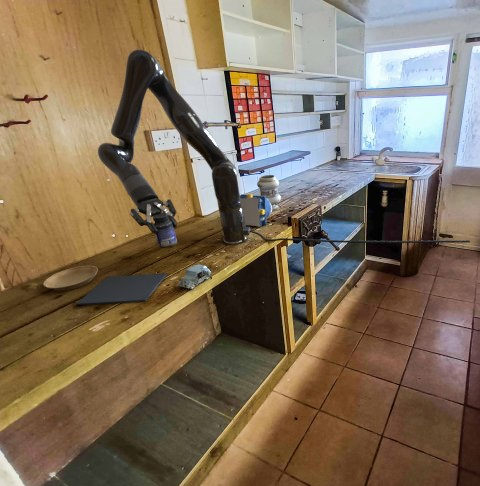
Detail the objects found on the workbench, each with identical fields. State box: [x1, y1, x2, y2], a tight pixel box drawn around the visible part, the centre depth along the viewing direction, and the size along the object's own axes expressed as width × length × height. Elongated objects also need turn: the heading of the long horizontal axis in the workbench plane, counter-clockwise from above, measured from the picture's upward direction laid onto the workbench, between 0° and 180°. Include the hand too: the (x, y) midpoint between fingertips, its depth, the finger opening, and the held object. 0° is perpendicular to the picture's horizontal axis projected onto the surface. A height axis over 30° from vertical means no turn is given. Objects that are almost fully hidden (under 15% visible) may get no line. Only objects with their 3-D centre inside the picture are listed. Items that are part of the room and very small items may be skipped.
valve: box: [240, 193, 273, 228], centre depth 153 cm, size 13×15×15 cm
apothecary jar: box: [256, 174, 282, 212], centre depth 171 cm, size 12×12×18 cm
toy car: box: [177, 263, 212, 290], centre depth 102 cm, size 6×10×5 cm, turn 155°
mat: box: [76, 273, 168, 306], centre depth 101 cm, size 20×16×1 cm
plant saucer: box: [42, 265, 99, 292], centre depth 105 cm, size 15×15×3 cm
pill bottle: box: [152, 214, 178, 249], centre depth 108 cm, size 6×6×11 cm
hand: (166, 229), depth 107 cm, fingers closed on pill bottle, 6 cm apart
